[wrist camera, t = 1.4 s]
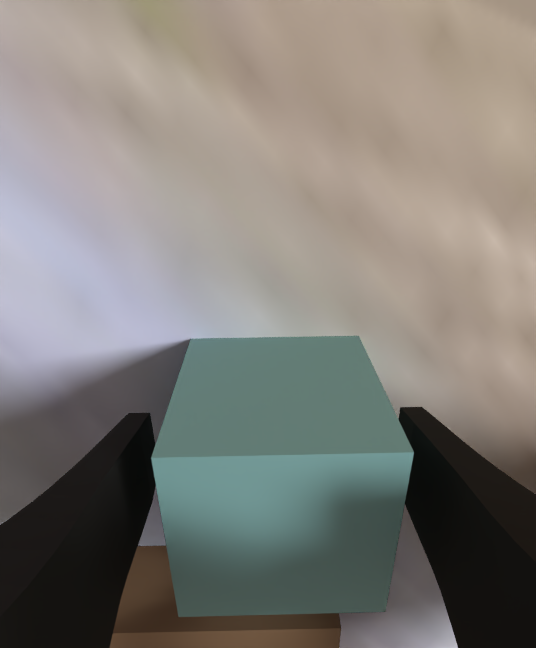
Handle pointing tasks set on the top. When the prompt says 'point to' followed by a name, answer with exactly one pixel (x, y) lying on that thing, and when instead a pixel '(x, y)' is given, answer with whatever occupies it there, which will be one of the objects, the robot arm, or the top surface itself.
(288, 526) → the teal cube
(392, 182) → the top surface
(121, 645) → the walnut block
